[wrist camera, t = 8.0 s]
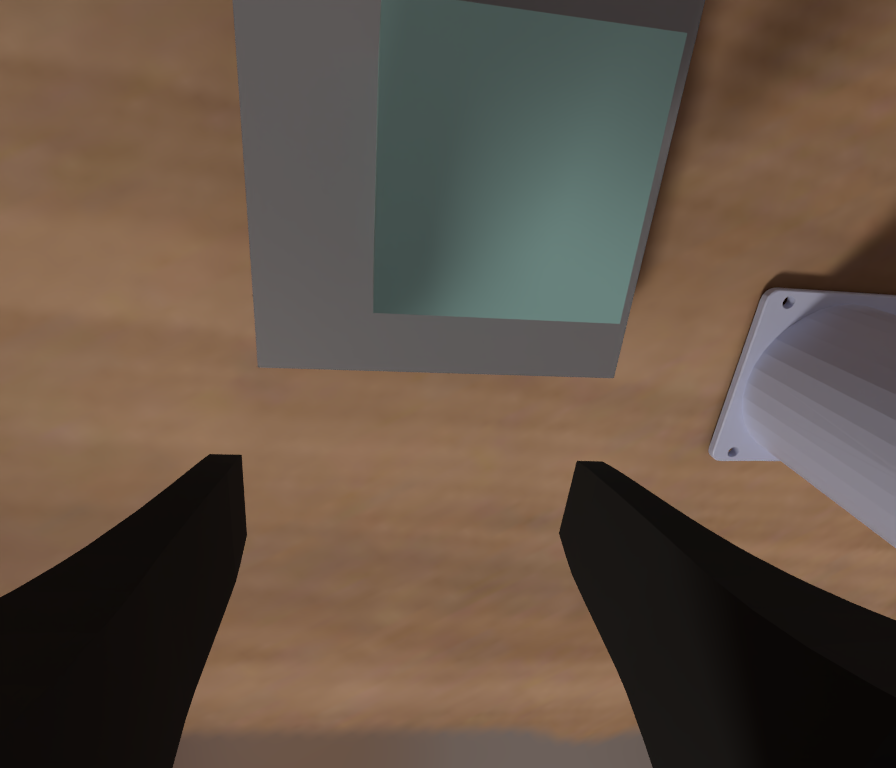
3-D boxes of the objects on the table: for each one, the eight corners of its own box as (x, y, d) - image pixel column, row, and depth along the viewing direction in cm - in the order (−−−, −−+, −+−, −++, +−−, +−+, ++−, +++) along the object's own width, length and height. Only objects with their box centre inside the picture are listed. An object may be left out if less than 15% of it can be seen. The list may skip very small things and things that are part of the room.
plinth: (658, -15, 16) (717, -50, 13) (582, 348, 21) (613, 378, 18) (252, -81, 14) (223, -138, 11) (274, 336, 19) (257, 367, 16)
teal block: (563, 80, 14) (686, 33, 8) (535, 265, 16) (619, 323, 10) (378, 57, 13) (381, -11, 8) (373, 254, 15) (373, 312, 10)
